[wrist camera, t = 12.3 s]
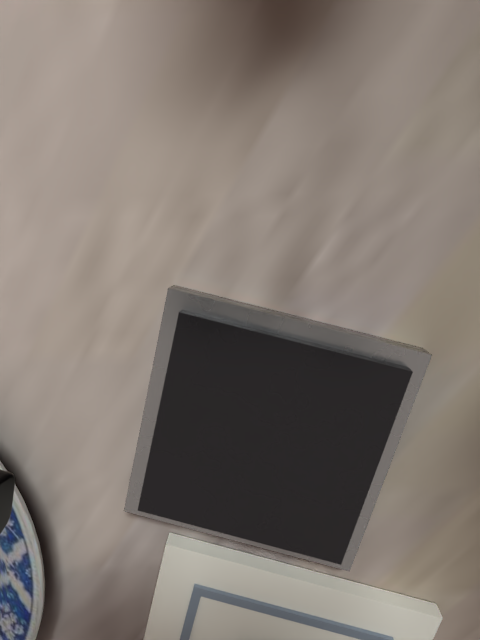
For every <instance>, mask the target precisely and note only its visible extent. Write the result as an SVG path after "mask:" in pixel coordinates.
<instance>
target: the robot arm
mask: <svg viewBox="0 0 480 640" xmlns="http://www.w3.org/2000/svg"><path fill="white" fill-rule="evenodd" d="M14 486H15V476H14V474H13V473H11V472H8V471H4V470H1V469H0V534H1V532H2V531H3V529H4V528H5V526H6V525H7V523H8V521H9V518H10V515H11V512H12V504H13V495H14Z"/></svg>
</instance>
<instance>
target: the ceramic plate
mask: <svg viewBox="0 0 480 640" xmlns="http://www.w3.org/2000/svg"><path fill="white" fill-rule="evenodd" d="M0 469H1V470H4V471H7V470H6V469H5V467H4V466H3V464H2V463H1V461H0ZM44 598H45V577H44V565H43V559H42V554H41V549H40V544H39V540H38V537H37V534H36V530H35V527H34V524H33V521H32V519H31V516H30V514H29V511H28V509H27V507H26V504H25V502H24V500H23V498H22V496H21V494H20V492H19V490H18V489H17V487H16V485H15V486H14V495H13V504H12V512H11V515H10V518H9V521H8V523H7V525H6V526H5V528H4V529H3V531H2V532H1V534H0V640H36V637H37V634H38V631H39V627H40V624H41V620H42V614H43V608H44Z"/></svg>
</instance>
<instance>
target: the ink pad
mask: <svg viewBox="0 0 480 640" xmlns="http://www.w3.org/2000/svg"><path fill="white" fill-rule="evenodd" d="M431 356H432V354H430V353H429V352H427V351H426V350H425V349H423V348H420V347H416V346H412V345H408V344H404V343H400V342H396V341H392V340H389V339H385V338H381V337H377V336H373V335H369V334H365V333H361V332H357V331H353V330H349V329H345V328H341V327H337V326H333V325H329V324H325V323H321V322H317V321H313V320H309V319H306V318H302V317H298V316H294V315H290V314H286V313H282V312H278V311H274V310H270V309H266V308H262V307H258V306H254V305H250V304H246V303H242V302H238V301H234V300H230V299H227V298H223V297H219V296H215V295H211V294H207V293H203V292H199V291H195V290H191V289H187V288H183V287H179V286H175V285H173V286H171V287H169V288H168V292H167V297H166V302H165V307H164V312H163V317H162V322H161V327H160V332H159V337H158V342H157V347H156V352H155V357H154V362H153V367H152V372H151V377H150V382H149V387H148V392H147V397H146V402H145V407H144V412H143V417H142V423H141V428H140V433H139V438H138V443H137V448H136V453H135V458H134V463H133V468H132V473H131V478H130V483H129V488H128V493H127V498H126V503H125V508H124V511H125V512H129V513H133V514H136V515H140V516H144V517H148V518H151V519H155V520H159V521H163V522H166V523H170V524H174V525H178V526H181V527H185V528H189V529H192V530H196V531H200V532H204V533H207V534H211V535H215V536H219V537H222V538H226V539H230V540H234V541H237V542H241V543H245V544H249V545H252V546H256V547H260V548H264V549H267V550H271V551H275V552H279V553H282V554H286V555H290V556H294V557H297V558H301V559H305V560H309V561H312V562H316V563H320V564H324V565H327V566H331V567H335V568H339V569H342V570H346V571H350V569H351V566H352V564H353V561H354V559H355V556H356V553H357V551H358V548H359V545H360V543H361V540H362V538H363V535H364V532H365V530H366V527H367V524H368V522H369V519H370V517H371V514H372V511H373V509H374V506H375V503H376V501H377V498H378V495H379V493H380V490H381V488H382V485H383V482H384V480H385V477H386V474H387V472H388V469H389V467H390V464H391V461H392V459H393V456H394V453H395V451H396V448H397V445H398V443H399V440H400V438H401V435H402V432H403V430H404V427H405V424H406V422H407V419H408V417H409V414H410V411H411V409H412V406H413V403H414V401H415V398H416V396H417V393H418V390H419V388H420V385H421V382H422V380H423V377H424V374H425V372H426V369H427V367H428V364H429V361H430V359H431Z"/></svg>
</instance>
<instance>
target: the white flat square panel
mask: <svg viewBox="0 0 480 640" xmlns="http://www.w3.org/2000/svg"><path fill="white" fill-rule="evenodd" d="M442 619H443V618H442V615H441V613H440V611H439V609H438V607H437V604H435V603H432V602H428V601H424V600H420V599H417V598H413V597H409V596H405V595H402V594H398V593H394V592H390V591H387V590H383V589H379V588H375V587H372V586H368V585H364V584H360V583H357V582H353V581H349V580H345V579H342V578H338V577H334V576H331V575H327V574H323V573H319V572H316V571H312V570H308V569H304V568H301V567H297V566H293V565H289V564H286V563H282V562H278V561H274V560H271V559H267V558H263V557H259V556H256V555H252V554H248V553H244V552H241V551H237V550H233V549H230V548H226V547H222V546H218V545H215V544H211V543H207V542H203V541H200V540H196V539H192V538H188V537H185V536H181V535H177V534H173V533H169V536H168V539H167V542H166V546H165V550H164V554H163V559H162V563H161V567H160V571H159V576H158V580H157V584H156V588H155V593H154V597H153V601H152V605H151V610H150V614H149V618H148V622H147V627H146V631H145V635H144V639H143V640H433V638H434V636H435V634H436V632H437V629H438V627H439V625H440V623H441V621H442Z"/></svg>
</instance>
